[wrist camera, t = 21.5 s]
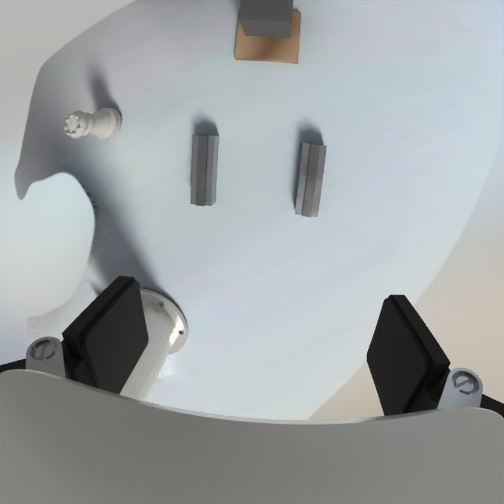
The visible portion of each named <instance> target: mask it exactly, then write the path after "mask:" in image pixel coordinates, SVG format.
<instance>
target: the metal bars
mask: <svg viewBox="0 0 504 504" xmlns="http://www.w3.org/2000/svg"><path fill="white" fill-rule="evenodd" d="M218 143H219V136H214V135H193V145H192V168H191V204H196V205H198V206H205V205H209V206H212V205H213V204H214V203H215V201H216V179H217V160H218ZM326 147H327V146H324V145H317V144H310V143H302V149H301V159H300V169H299V178H298V187H297V195H296V204H295V214H298V215H302V216H307V217H311V216H314V217H317V216H318V210H319V203H320V196H321V188H322V180H323V172H324V164H325V156H326Z"/></svg>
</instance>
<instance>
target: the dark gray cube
mask: <svg viewBox="0 0 504 504" xmlns="http://www.w3.org/2000/svg"><path fill="white" fill-rule="evenodd" d="M292 8H293V0H241V6H240V14H239V21H240V24H241V26H242V28H243V31H244V33H245V36H264V37H279V38H290V37H291V23H292Z"/></svg>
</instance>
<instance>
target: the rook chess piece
mask: <svg viewBox="0 0 504 504" xmlns="http://www.w3.org/2000/svg"><path fill="white" fill-rule="evenodd" d="M65 122H66V123H67V125H66V126H64V130H67V132H66V134H67V135H69V136H71V137H72V138H75V139H76V138H79V137H81V136H85V135H88V134H92V135H93V136H95V137H96V138H97V139H101V140H109V139H112V138H113V137H114V136H115V135H117V133H118V131H119V129H120V126H121V116H120V114H119V112H118V111H117V110H116V109H114V108H103V109H101V110H98V111H97V112H96V113H95V114H89V113H83V112H82V111H76V112H74V113H73V114H71V115H69V118H66V120H65Z"/></svg>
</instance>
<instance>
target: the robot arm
mask: <svg viewBox="0 0 504 504" xmlns="http://www.w3.org/2000/svg"><path fill="white" fill-rule="evenodd" d="M62 335H63V338H64V339H63V341H62V342H61V341H60V340H59V339H57V338H55V337H43V338H40V339H38V340H36V341H34V342H33V343H32V344H31V345H30V346H29V348H28V350H27V353H26V359H22V360H18V361H15V362H11V363H8V364H3V365H0V504H504V404H503V403H501V402H499V401H496V400H494V399H492V398H490V397H488V396H486V395H484V394H482V391H483V384H482V382H481V380H480V378H479V377H478V375H476V374H475V373H474V372H473V371H471V370H469V369H465V368H456V369H453V370H452V371H450V369H449V365H450V361H449V359H448V358H447V356H446V355H445V353H444V351H443V350H442V348H441V347H440V345H439V344H438V342H437V341H436V339H435V338H434V336H433V335H432V333H431V332H430V330H429V329H428V327H427V326H426V324H425V323H424V321H423V320H422V319H421V317H420V316H419V315H418V313H417V311H416V310H415V309H414V307H413V306H412V305H411V303H410V302H409V300H408V299H407V298H406V296H405V295H390V296H389V297H388V298H386V299H385V300H384V302H383V305H382V309H381V312H380V315H379V319H378V322H377V325H376V328H375V331H374V335H373V338H372V341H371V343H370V346H369V349H368V352H367V363H368V366H369V368H370V372H371V374H372V378H373V380H374V384H375V387H376V390H377V393H378V396H379V399H380V402H381V405H382V409H383V412H384V416H382V417H371V418H359V419H345V420H321V421H320V420H316V421H315V420H313V421H311V420H270V419H255V418H243V417H233V416H224V415H216V414H209V413H202V412H196V411H190V410H184V409H179V408H173V407H168V406H164V405H159V404H154V403H150V402H146V399H147V397H148V395H149V393H150V391H151V389H152V386H153V384H154V382H155V380H156V378H157V376H158V374H159V372H160V370H161V368H162V366H163V364H164V362H165V360H166V358H167V356H168V355H169V354H173V353H175V352H177V351H179V350H180V349H181V348H182V347H183V345H184V344H185V341H186V339H187V335H188V328H187V324H186V321H185V319H184V316H183V315H182V313H181V312H180V310H179V309H178V308H177V307H176V306H175V305H174V304H173V303H172V302H171V301H170V300H169V299H167V298H166V297H164V296H163V295H161V294H159V293H157V292H154V291H151V290H147V289H140V287H139V283H138V282H137V281H135V279H134V278H133V277H126V276H119V277H118V278H117V279H116V280H115V281H113V282H112V283H111V284H110V285H109V286H108V287H107V288H106V289H105V290H104V291H103V292H102V293H101V294H100V295H99V296H98V297H97V298H96V299H95V300H94V301H93V302H92V303H91V304H90V305H89V306H88V307H87V308H86V309H85V310H84V311H83V312H82V313H81V314H80V315H79V316H78V317H77V318H76V319H75V320H74V321H73V322H72V323H71V324H70V325H69V326H68V327H67V328H66V329H65V331H64V332H63V333H62Z"/></svg>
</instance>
